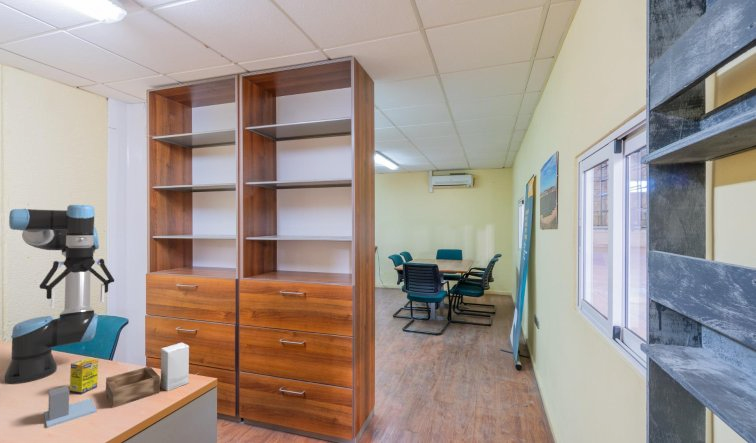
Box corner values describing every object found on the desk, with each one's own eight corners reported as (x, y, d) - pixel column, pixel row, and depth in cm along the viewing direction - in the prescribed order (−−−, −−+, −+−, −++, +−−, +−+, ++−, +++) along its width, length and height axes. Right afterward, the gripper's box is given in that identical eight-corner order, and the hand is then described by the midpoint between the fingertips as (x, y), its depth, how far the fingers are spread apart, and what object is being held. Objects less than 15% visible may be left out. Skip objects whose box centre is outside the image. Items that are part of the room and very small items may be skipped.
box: (149, 381, 134) (150, 366, 134) (159, 392, 126) (159, 376, 126) (105, 394, 124) (106, 377, 124) (112, 407, 115) (113, 389, 115)
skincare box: (181, 378, 137) (182, 341, 137) (189, 383, 133) (190, 345, 133) (159, 386, 130) (160, 347, 130) (166, 392, 126) (167, 351, 127)
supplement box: (81, 394, 123) (82, 365, 124) (69, 392, 125) (69, 363, 125) (98, 386, 129) (98, 359, 129) (85, 385, 130) (86, 357, 131)
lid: (91, 400, 120) (91, 376, 120) (96, 412, 112) (97, 386, 112) (44, 414, 111) (45, 388, 111) (46, 428, 103) (47, 400, 103)
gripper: (31, 248, 109) (29, 312, 109) (124, 246, 127) (123, 300, 127) (30, 247, 114) (28, 308, 114) (120, 245, 132) (118, 297, 132)
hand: (78, 304), depth 120 cm, fingers open, 13 cm apart
